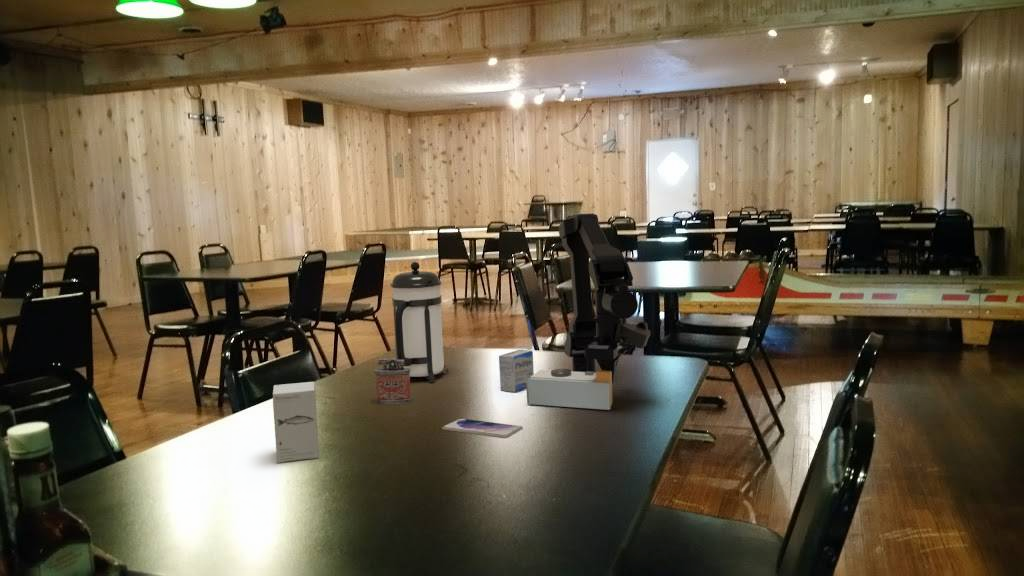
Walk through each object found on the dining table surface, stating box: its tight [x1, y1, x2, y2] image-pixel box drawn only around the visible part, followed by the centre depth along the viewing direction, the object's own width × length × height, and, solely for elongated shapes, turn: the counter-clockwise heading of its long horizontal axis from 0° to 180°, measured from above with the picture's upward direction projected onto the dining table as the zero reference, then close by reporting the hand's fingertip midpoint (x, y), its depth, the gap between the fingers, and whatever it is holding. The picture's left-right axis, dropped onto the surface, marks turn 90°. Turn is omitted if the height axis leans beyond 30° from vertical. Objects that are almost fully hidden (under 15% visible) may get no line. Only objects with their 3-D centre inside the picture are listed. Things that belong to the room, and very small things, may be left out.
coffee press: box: [390, 261, 449, 384], centre depth 185 cm, size 17×16×30 cm
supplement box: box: [272, 381, 320, 464], centre depth 131 cm, size 7×7×13 cm
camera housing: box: [530, 368, 596, 382], centre depth 159 cm, size 7×14×7 cm, turn 68°
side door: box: [526, 369, 613, 411], centre depth 155 cm, size 2×18×8 cm, turn 68°
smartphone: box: [441, 418, 523, 439], centre depth 143 cm, size 7×1×15 cm
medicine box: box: [498, 349, 535, 394], centre depth 173 cm, size 8×4×9 cm, turn 143°
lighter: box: [374, 357, 413, 405], centre depth 165 cm, size 8×3×10 cm, turn 84°
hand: (610, 383), depth 158 cm, fingers closed
